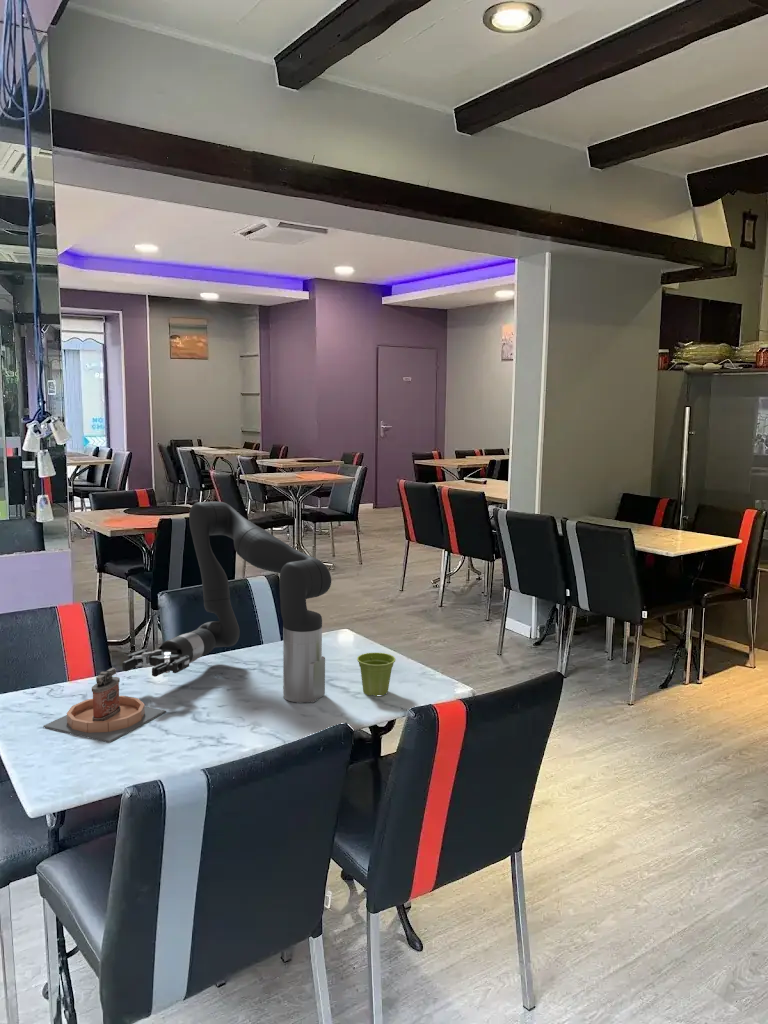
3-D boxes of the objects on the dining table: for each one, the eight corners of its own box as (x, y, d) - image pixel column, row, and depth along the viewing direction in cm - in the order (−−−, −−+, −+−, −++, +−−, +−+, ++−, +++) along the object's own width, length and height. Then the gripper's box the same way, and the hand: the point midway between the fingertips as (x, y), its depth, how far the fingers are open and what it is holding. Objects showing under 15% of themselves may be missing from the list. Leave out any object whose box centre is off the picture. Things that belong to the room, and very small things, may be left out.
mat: (166, 712, 174) (166, 710, 174) (109, 742, 157) (109, 740, 157) (104, 699, 180) (103, 697, 180) (43, 727, 164) (43, 725, 164)
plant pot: (402, 694, 187) (403, 660, 186) (370, 702, 182) (370, 666, 181) (380, 683, 195) (381, 650, 194) (349, 690, 190) (349, 656, 189)
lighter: (102, 723, 164) (101, 678, 163) (88, 721, 165) (87, 676, 164) (124, 709, 172) (123, 666, 171) (110, 708, 173) (109, 665, 172)
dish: (158, 711, 173) (158, 702, 173) (109, 737, 159) (108, 727, 158) (104, 700, 179) (104, 691, 179) (52, 724, 165) (51, 715, 164)
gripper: (158, 632, 194) (113, 650, 180) (205, 639, 189) (163, 658, 174) (159, 661, 195) (114, 680, 180) (205, 669, 190) (163, 690, 175)
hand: (138, 669), depth 177 cm, fingers open, 8 cm apart
